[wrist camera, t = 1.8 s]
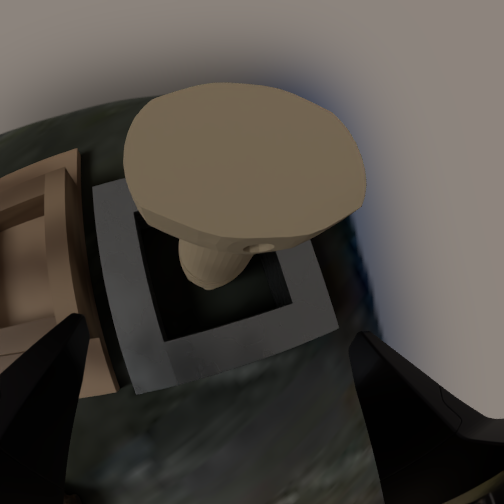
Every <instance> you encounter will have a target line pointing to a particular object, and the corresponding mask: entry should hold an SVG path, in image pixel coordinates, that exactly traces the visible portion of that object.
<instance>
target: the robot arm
mask: <svg viewBox="0 0 504 504" xmlns="http://www.w3.org/2000/svg"><path fill="white" fill-rule="evenodd" d="M89 341H90V333H89V329H88V325H87V322H86V318H85V316H84V315H83V314H78V313H71V314H70V315H69V316H67V317H66V318H65V319H64V320H62V321H61V322H60V323H59V324H57V325H56V326H55V327H54V328H52V329H51V330H50V331H49V332H48V333H46V334H45V335H44V336H43V337H42V338H40V339H39V340H38V341H37V342H36V343H35V344H33V345H32V346H31V347H30V348H29V349H28V350H26V351H25V352H24V353H23V354H22V355H21V356H20V357H18V358H17V359H16V360H15V361H14V362H13V363H12V364H11V365H9V366H8V367H7V368H6V369H5V370H4V371H3V372H2V373H1V374H0V504H64V487H65V476H66V467H67V459H68V452H69V445H70V439H71V433H72V428H73V422H74V417H75V413H76V408H77V403H78V399H79V395H80V391H81V387H82V382H83V376H84V370H85V363H86V357H87V351H88V346H89ZM349 357H350V362H351V367H352V372H353V377H354V382H355V387H356V391H357V395H358V398H359V402H360V405H361V409H362V412H363V416H364V419H365V423H366V426H367V430H368V434H369V438H370V441H371V445H372V449H373V453H374V457H375V461H376V465H377V470H378V474H379V478H380V483H381V488H382V492H383V497H384V502H385V504H504V419H492V418H488V417H485V416H484V415H482V414H481V413H479V412H478V411H476V410H474V409H473V408H471V407H470V406H468V405H467V404H465V403H464V402H462V401H461V400H459V399H458V398H456V397H455V396H454V395H452V394H451V393H450V392H448V391H447V390H446V389H444V388H443V387H442V386H440V385H439V384H438V383H436V382H435V381H434V380H432V379H431V378H430V377H429V376H427V375H426V374H425V373H423V372H422V371H421V370H420V369H418V368H417V367H415V366H414V365H413V364H412V363H411V362H409V361H408V360H407V359H405V358H404V357H402V356H401V355H400V354H399V353H398V352H396V351H395V350H394V349H392V348H391V347H390V346H388V345H387V344H386V343H384V342H383V341H382V340H381V339H379V338H378V337H377V336H375V335H374V334H373V333H371V332H370V331H360V332H358V333H357V335H356V336H355V338H354V340H353V341H352V343H351V345H350V347H349Z"/></svg>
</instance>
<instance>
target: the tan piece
mask: <svg viewBox="0 0 504 504" xmlns="http://www.w3.org/2000/svg"><path fill="white" fill-rule="evenodd" d="M71 313H78V314H83V315H84V316H85V318H86V322H87V325H88V329H89V333H90V341H89V346H88V351H87V357H86V363H85V370H84V376H83V382H82V387H81V391H80V395H79V398H84V397H91V396H97V395H103V394H109V393H114V392H117V391H118V390H119V389H120V387H119V384H118V381H117V378H116V375H115V372H114V369H113V366H112V363H111V360H110V357H109V353H108V350H107V347H106V343H105V339H104V336H103V332H102V328H101V324H100V320H99V316H98V312H97V307H96V303H95V298H94V293H93V288H92V283H91V277H90V271H89V265H88V258H87V251H86V243H85V234H84V225H83V213H82V197H81V155H80V153H79V151H78V149H77V148H76V149H73V150H70V151H67V152H64V153H61V154H58V155H56V156H53V157H50V158H47V159H45V160H42V161H39V162H37V163H34V164H32V165H29V166H27V167H25V168H22V169H20V170H17V171H15V172H13V173H11V174H8V175H6V176H4V177H2V178H0V374H1V373H2V372H3V371H4V370H5V369H6V368H7V367H8V366H9V365H11V364H12V363H13V362H14V361H15V360H16V359H17V358H18V357H20V356H21V355H22V354H23V353H24V352H25V351H26V350H28V349H29V348H30V347H31V346H32V345H33V344H35V343H36V342H37V341H38V340H39V339H40V338H42V337H43V336H44V335H45V334H46V333H48V332H49V331H50V330H51V329H52V328H54V327H55V326H56V325H57V324H59V323H60V322H61V321H62V320H64V319H65V318H66V317H67V316H69V315H70V314H71Z"/></svg>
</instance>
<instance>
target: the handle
mask: <svg viewBox="0 0 504 504" xmlns="http://www.w3.org/2000/svg"><path fill="white" fill-rule="evenodd" d="M123 165H124V171H125V177H126V182H127V185H128V188H129V191H130V193H131V196H132V198H133V200H134V202H135V204H136V207H137V209H138V211H139V212H140V214H141V215H142V217H143V218H144V219H145V221H146V222H147V224H148V225H150V226H152V227H154V228H156V229H158V230H161V231H163V232H165V233H167V234H169V235H172V236H174V237H176V238H179V258H180V263H181V266H182V269H183V271H184V273H185V274H186V276H187V278H188V280H189V281H191V282H193V283H194V284H196V285H198V286H200V287H203V288H204V289H205V290H213V289H215V288H217V287H220V286H223V285H225V284H227V283H229V282H230V281H232V280H233V279H235V278H236V277H237V276H238V275H239V274H240V273H241V272H242V271H243V270H244V268H245V267H246V266H247V264H248V262H249V261H250V259H251V258H252V256H253V255H254V254H259V253H265V252H272V251H278V250H283V249H289V248H293V247H295V246H297V245H299V244H301V243H304V242H306V241H308V240H310V239H312V238H313V237H315V236H317V235H319V234H320V233H322V232H324V231H325V230H327V229H329V228H330V227H332V226H334V225H335V224H337V223H338V222H340V221H341V220H343V219H345V218H346V217H348V216H349V215H350V214H352V213H353V212H355V211H356V210H357V209H359V208H360V207H362V204H363V200H364V197H365V192H366V174H365V168H364V164H363V161H362V157H361V154H360V152H359V149H358V147H357V145H356V142H355V141H354V139H353V137H352V135H351V134H350V132H349V131H348V129H347V128H346V127H345V126H344V125H343V123H342V122H341V121H340V120H339V119H338V118H337V117H336V116H335V115H334V114H333V113H332V112H330V111H328V110H326V109H324V108H322V107H320V106H318V105H316V104H314V103H312V102H310V101H308V100H306V99H304V98H301V97H299V96H297V95H295V94H292V93H289V92H287V91H284V90H281V89H277V88H272V87H267V86H261V85H251V84H240V83H209V84H203V85H197V86H193V87H190V88H186V89H182V90H179V91H176V92H173V93H170V94H166V95H163V96H161V97H158V98H155V99H152V100H151V101H150V102H149V103H148V104H147V105H146V106H144V107H143V108H142V110H141V111H140V112H139V113H138V114H137V116H136V117H135V119H134V121H133V123H132V125H131V127H130V129H129V131H128V134H127V138H126V142H125V146H124V160H123Z"/></svg>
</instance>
